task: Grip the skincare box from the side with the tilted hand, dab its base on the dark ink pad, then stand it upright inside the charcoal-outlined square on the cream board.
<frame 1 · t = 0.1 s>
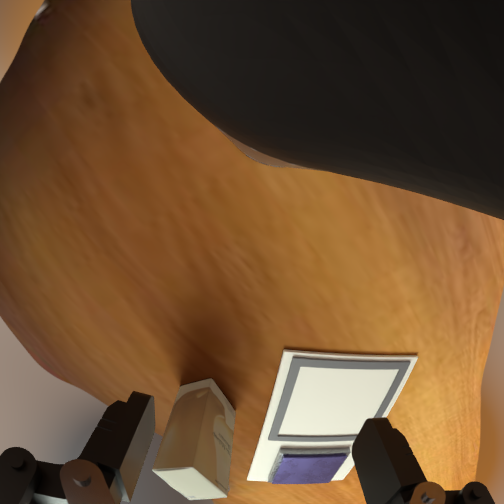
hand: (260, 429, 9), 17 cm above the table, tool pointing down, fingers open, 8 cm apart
ink pad: (306, 462, 35), resting on marked board
marked board: (322, 433, 32), on the table
skincare box: (207, 397, 31), on the table
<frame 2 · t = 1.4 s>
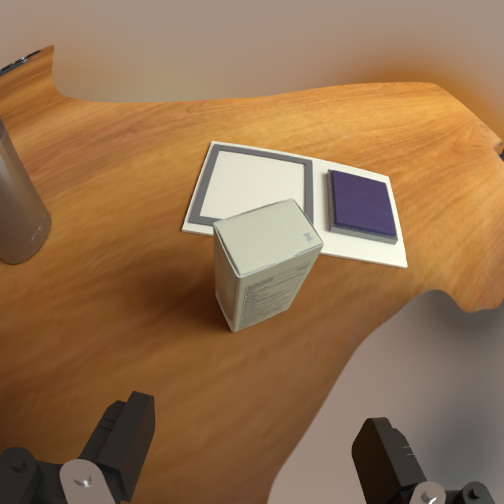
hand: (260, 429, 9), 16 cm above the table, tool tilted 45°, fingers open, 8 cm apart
ink pad: (358, 209, 37), resting on marked board
marked board: (304, 198, 37), on the table
skincare box: (250, 304, 29), on the table
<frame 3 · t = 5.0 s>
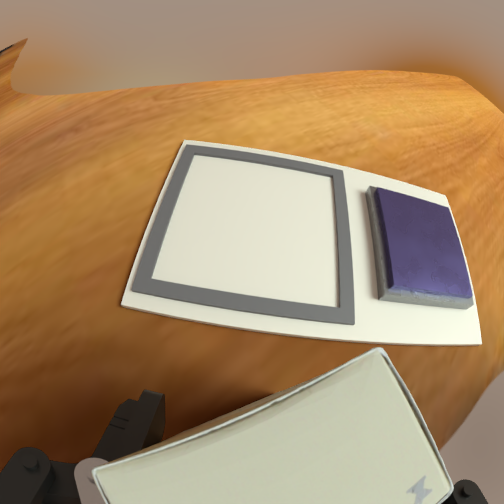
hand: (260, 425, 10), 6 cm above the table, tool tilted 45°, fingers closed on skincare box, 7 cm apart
ink pad: (415, 252, 22), resting on marked board
marked board: (334, 236, 22), on the table
skincare box: (242, 446, 14), on the table, touching gripper
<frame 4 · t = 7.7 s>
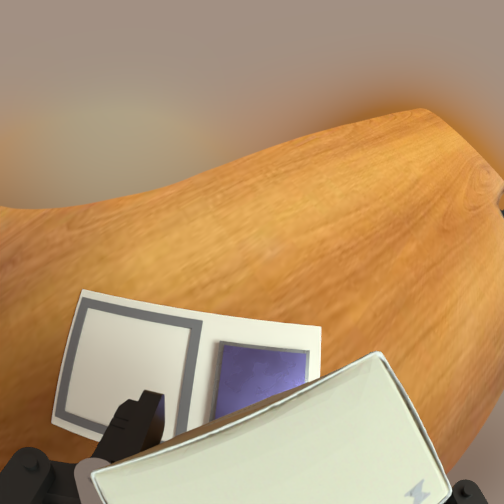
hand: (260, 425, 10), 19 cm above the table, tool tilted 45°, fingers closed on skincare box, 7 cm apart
ink pad: (259, 396, 27), resting on marked board
marked board: (182, 386, 26), on the table
skincare box: (242, 447, 14), point 13 cm above the table, touching gripper
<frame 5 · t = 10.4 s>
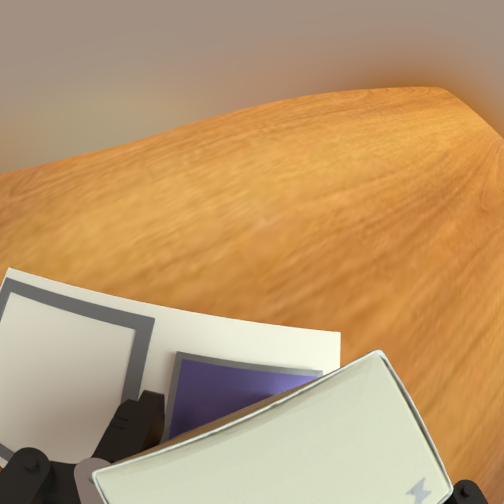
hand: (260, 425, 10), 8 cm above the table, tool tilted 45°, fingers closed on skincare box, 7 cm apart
ink pad: (239, 441, 15), resting on marked board
marked board: (121, 417, 15), on the table
skincare box: (242, 448, 14), point 2 cm above the table, touching gripper, ink pad
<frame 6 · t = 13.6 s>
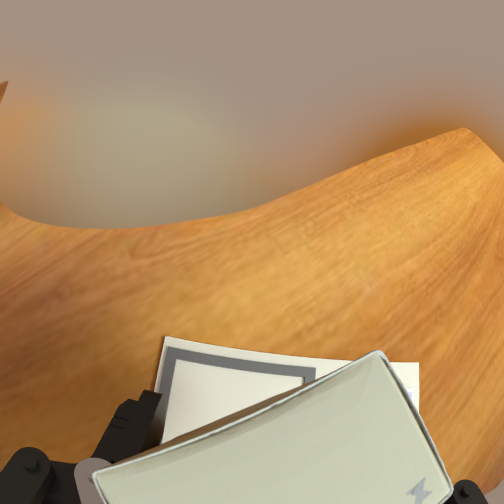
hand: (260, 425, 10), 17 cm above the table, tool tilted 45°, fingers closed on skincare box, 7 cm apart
marked board: (297, 437, 23), on the table
skincare box: (242, 448, 14), point 11 cm above the table, touching gripper
when the fingers open (7 cm above the table, at t = 16.1 s): skincare box drops 1 cm, resting on marked board.
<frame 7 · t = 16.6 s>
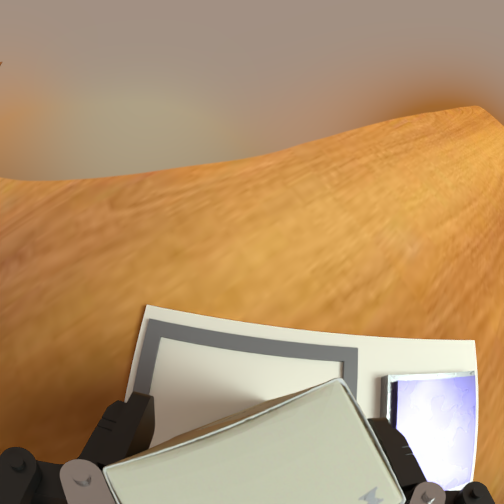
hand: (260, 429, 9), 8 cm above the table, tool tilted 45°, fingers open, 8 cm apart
ink pad: (424, 438, 16), resting on marked board
marked board: (334, 448, 15), on the table
skincare box: (235, 448, 15), resting on marked board, touching gripper
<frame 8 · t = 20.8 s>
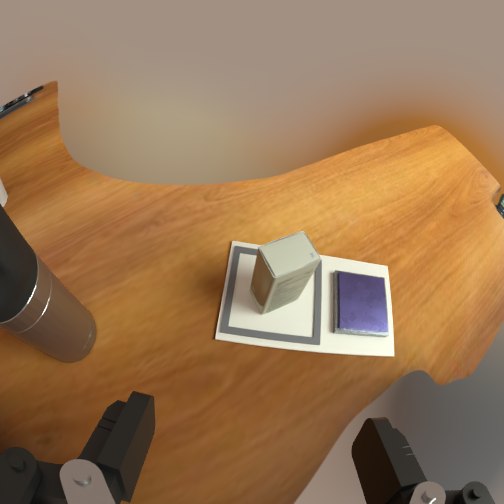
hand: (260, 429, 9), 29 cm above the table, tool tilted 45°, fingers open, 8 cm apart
ink pad: (358, 306, 44), resting on marked board
marked board: (313, 300, 44), on the table
skincare box: (272, 296, 43), resting on marked board
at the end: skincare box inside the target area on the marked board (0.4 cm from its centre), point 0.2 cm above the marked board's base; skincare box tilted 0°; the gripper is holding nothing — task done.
